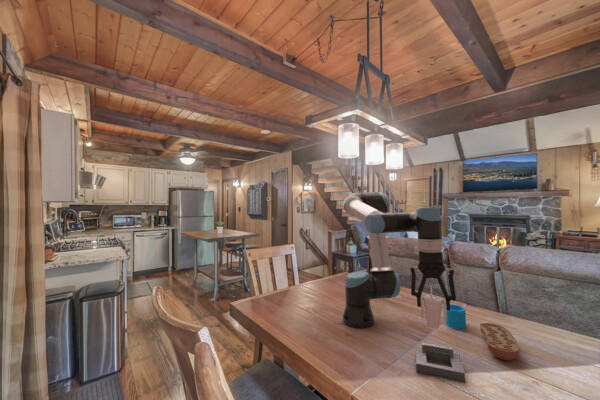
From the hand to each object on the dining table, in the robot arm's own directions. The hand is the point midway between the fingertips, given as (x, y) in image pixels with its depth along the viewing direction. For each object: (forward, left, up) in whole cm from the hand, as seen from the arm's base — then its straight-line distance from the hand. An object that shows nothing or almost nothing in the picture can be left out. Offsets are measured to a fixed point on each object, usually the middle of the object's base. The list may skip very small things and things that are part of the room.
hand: (433, 317), depth 89 cm
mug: (+11, +40, -18) cm, 45 cm away
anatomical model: (+23, +22, -18) cm, 37 cm away
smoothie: (0, 0, -3) cm, 3 cm away
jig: (+1, +1, -17) cm, 17 cm away
